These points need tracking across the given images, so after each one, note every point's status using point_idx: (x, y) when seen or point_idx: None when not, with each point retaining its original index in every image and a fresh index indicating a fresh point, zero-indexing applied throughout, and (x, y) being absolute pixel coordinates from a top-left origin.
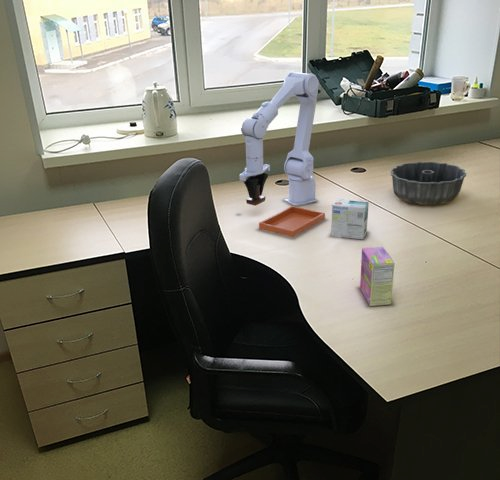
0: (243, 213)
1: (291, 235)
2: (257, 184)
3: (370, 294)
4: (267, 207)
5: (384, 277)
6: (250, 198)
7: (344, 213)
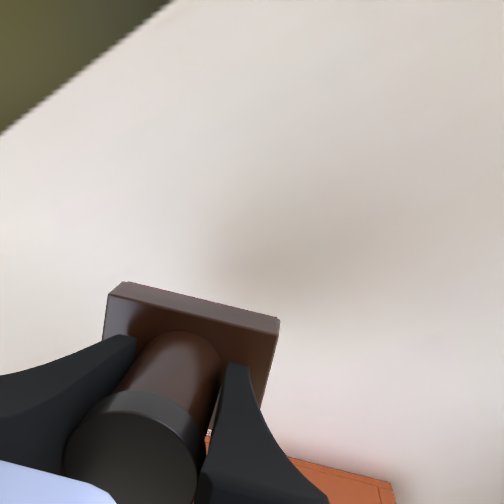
0: (265, 165)
1: None
2: (140, 499)
3: None
4: (455, 291)
5: None
6: (145, 325)
7: None
